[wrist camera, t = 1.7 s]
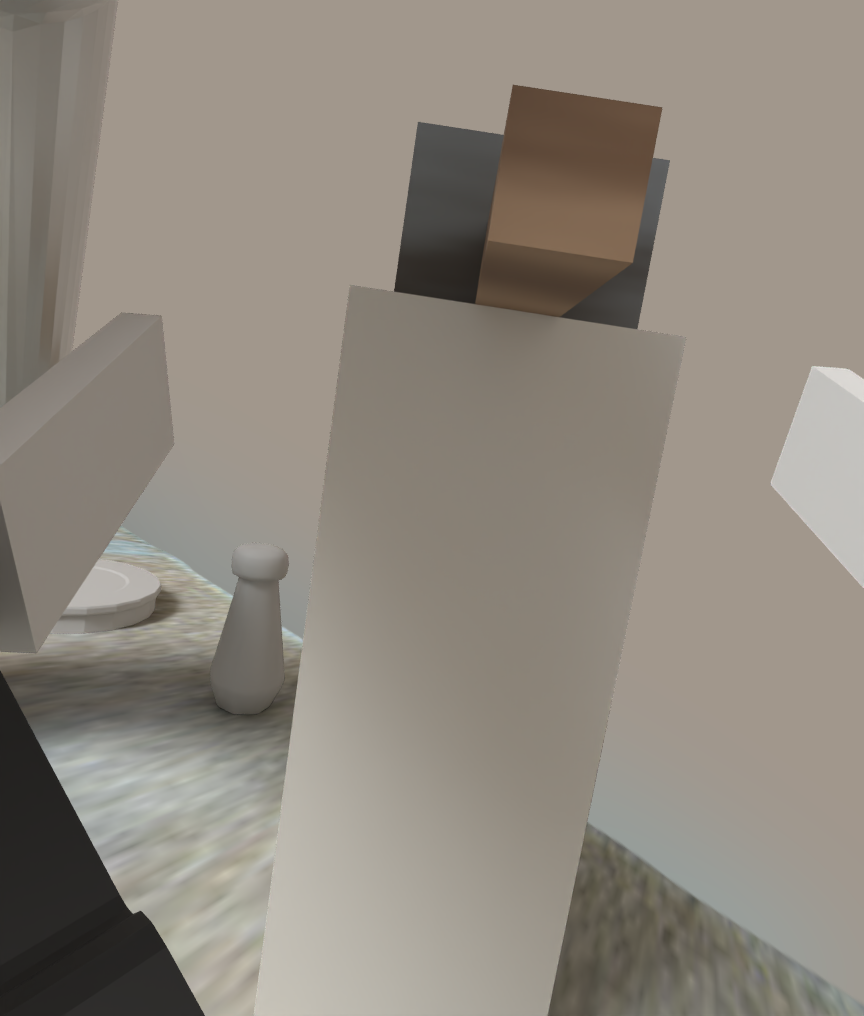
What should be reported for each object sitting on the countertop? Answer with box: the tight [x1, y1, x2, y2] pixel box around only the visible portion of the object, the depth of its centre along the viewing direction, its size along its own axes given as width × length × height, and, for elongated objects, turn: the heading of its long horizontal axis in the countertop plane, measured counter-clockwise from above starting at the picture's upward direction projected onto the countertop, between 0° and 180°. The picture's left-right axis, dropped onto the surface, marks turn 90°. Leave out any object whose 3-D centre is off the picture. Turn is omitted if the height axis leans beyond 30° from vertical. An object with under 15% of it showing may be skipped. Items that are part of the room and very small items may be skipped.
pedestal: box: [254, 285, 686, 1016], centre depth 35 cm, size 14×12×30 cm
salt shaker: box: [210, 543, 289, 714], centre depth 58 cm, size 6×6×13 cm
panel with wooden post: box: [394, 85, 670, 329], centre depth 23 cm, size 18×9×6 cm, turn 178°
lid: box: [50, 559, 161, 634], centre depth 73 cm, size 17×20×3 cm
